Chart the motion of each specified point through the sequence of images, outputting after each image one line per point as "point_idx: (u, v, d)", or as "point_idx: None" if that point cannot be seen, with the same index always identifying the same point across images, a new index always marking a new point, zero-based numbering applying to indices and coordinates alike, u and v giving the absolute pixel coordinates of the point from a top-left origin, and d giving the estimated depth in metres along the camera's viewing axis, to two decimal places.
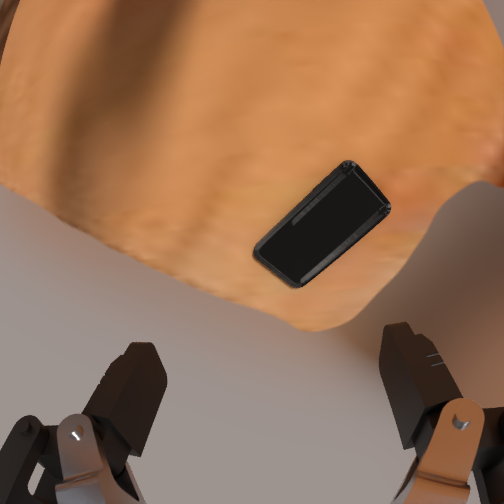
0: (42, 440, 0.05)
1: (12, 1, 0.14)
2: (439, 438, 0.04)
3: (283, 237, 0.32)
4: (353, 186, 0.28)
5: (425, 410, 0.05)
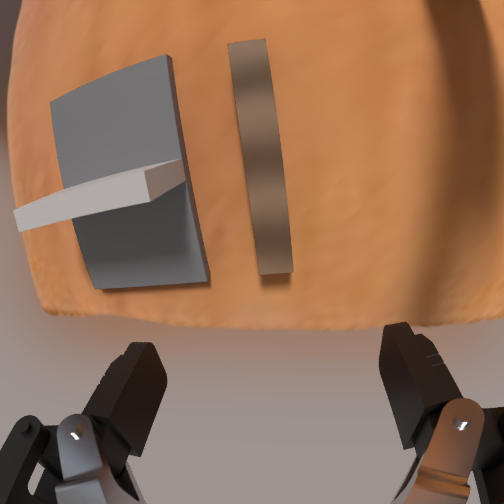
0: (42, 440, 0.05)
1: None
2: (439, 438, 0.04)
3: None
4: None
5: (425, 410, 0.05)
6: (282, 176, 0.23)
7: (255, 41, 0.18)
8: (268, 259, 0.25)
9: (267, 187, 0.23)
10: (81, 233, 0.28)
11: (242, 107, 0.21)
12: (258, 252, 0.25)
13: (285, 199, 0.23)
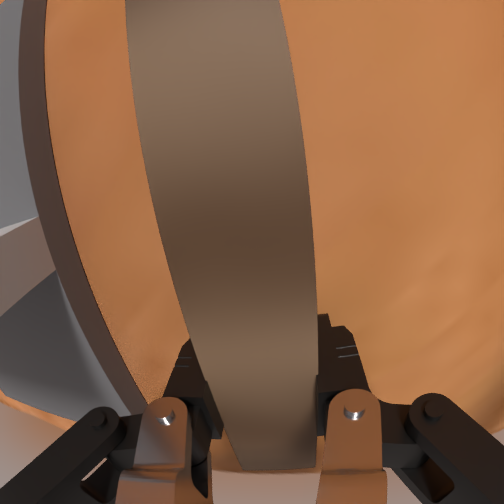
0: (120, 433, 0.06)
1: None
2: (334, 433, 0.05)
3: None
4: None
5: (320, 396, 0.06)
6: (310, 303, 0.06)
7: None
8: (261, 456, 0.09)
9: (255, 335, 0.07)
10: None
11: (147, 40, 0.04)
12: (237, 448, 0.09)
13: (313, 364, 0.07)
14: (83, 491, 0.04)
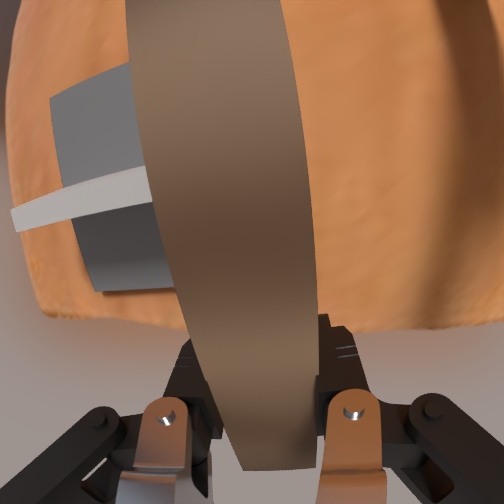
0: (121, 433, 0.06)
1: None
2: (334, 433, 0.05)
3: None
4: None
5: (319, 396, 0.06)
6: (310, 304, 0.06)
7: None
8: (261, 457, 0.09)
9: (255, 336, 0.07)
10: (81, 234, 0.27)
11: (148, 40, 0.04)
12: (237, 449, 0.09)
13: (314, 366, 0.07)
14: (83, 491, 0.04)
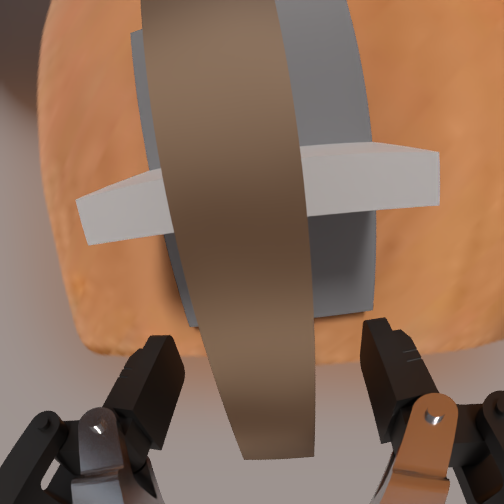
0: (61, 436, 0.05)
1: None
2: (412, 434, 0.04)
3: None
4: None
5: (397, 403, 0.06)
6: (306, 290, 0.07)
7: None
8: (262, 444, 0.10)
9: (256, 320, 0.07)
10: None
11: (162, 54, 0.05)
12: (239, 435, 0.09)
13: (310, 349, 0.08)
14: (45, 494, 0.04)
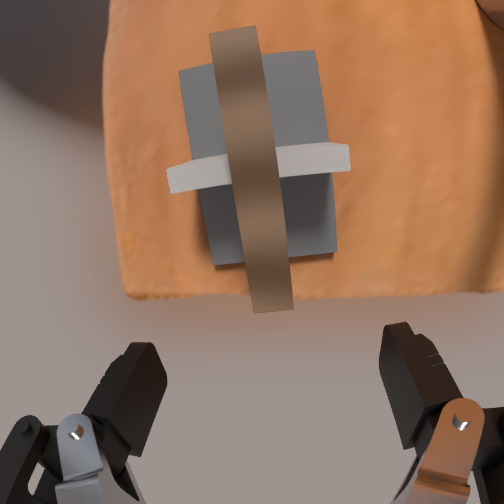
0: (42, 440, 0.05)
1: None
2: (439, 438, 0.04)
3: None
4: None
5: (425, 410, 0.05)
6: (279, 197, 0.18)
7: (243, 29, 0.14)
8: (264, 295, 0.21)
9: (261, 211, 0.19)
10: (208, 206, 0.31)
11: (227, 111, 0.16)
12: (251, 288, 0.21)
13: (283, 225, 0.19)
14: (33, 497, 0.04)
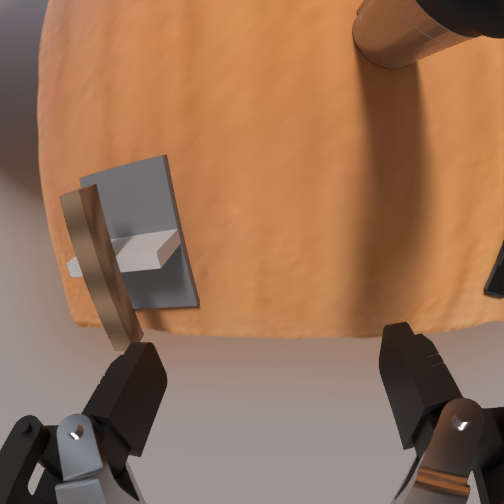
0: (42, 440, 0.05)
1: (92, 206, 0.27)
2: (439, 438, 0.04)
3: (496, 275, 0.38)
4: None
5: (425, 410, 0.05)
6: (108, 292, 0.29)
7: (73, 193, 0.25)
8: (116, 342, 0.32)
9: (102, 298, 0.30)
10: None
11: (75, 245, 0.27)
12: (109, 337, 0.32)
13: (114, 307, 0.30)
14: (33, 497, 0.04)
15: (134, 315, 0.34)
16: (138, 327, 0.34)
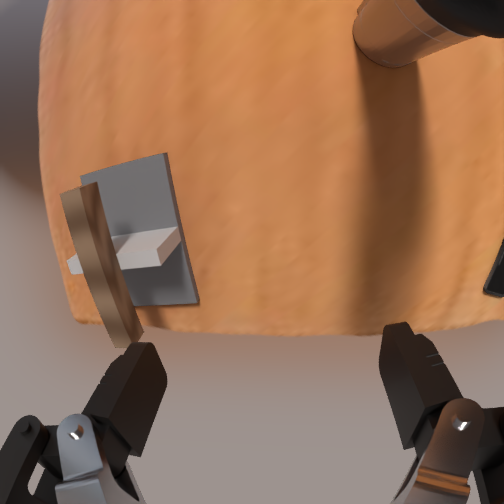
0: (42, 440, 0.05)
1: (93, 203, 0.28)
2: (439, 438, 0.04)
3: (496, 274, 0.38)
4: None
5: (425, 410, 0.05)
6: (108, 289, 0.30)
7: (74, 191, 0.25)
8: (116, 339, 0.32)
9: (102, 295, 0.30)
10: None
11: (76, 243, 0.28)
12: (109, 334, 0.32)
13: (114, 304, 0.30)
14: (33, 497, 0.04)
15: (134, 312, 0.34)
16: (138, 324, 0.35)
